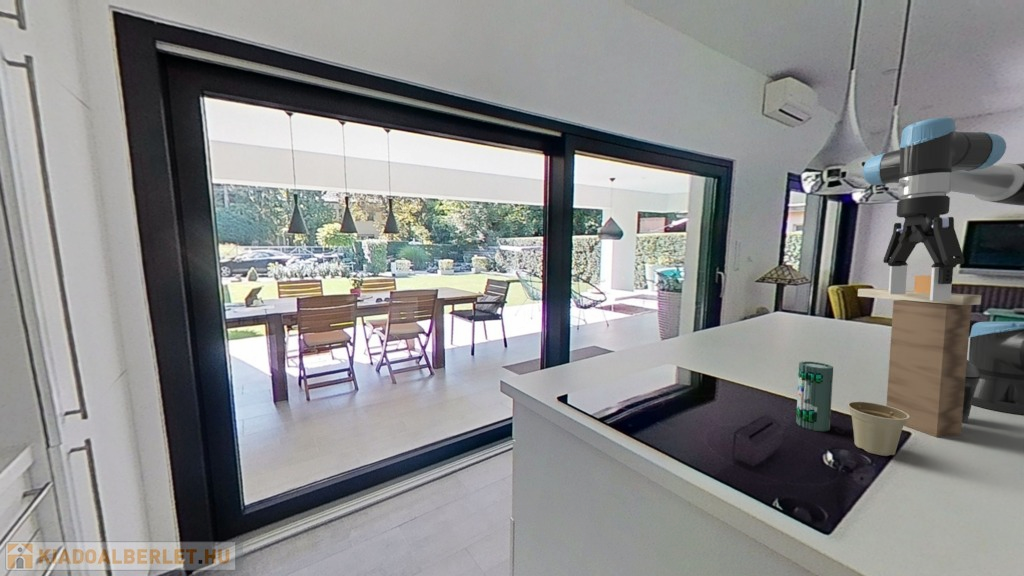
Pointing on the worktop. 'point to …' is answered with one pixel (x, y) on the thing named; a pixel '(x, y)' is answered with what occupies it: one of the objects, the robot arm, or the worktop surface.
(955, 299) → the slat
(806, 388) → the can
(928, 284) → the cube
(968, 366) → the beverage cup
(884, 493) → the worktop surface
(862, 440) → the flower pot
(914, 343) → the stand
